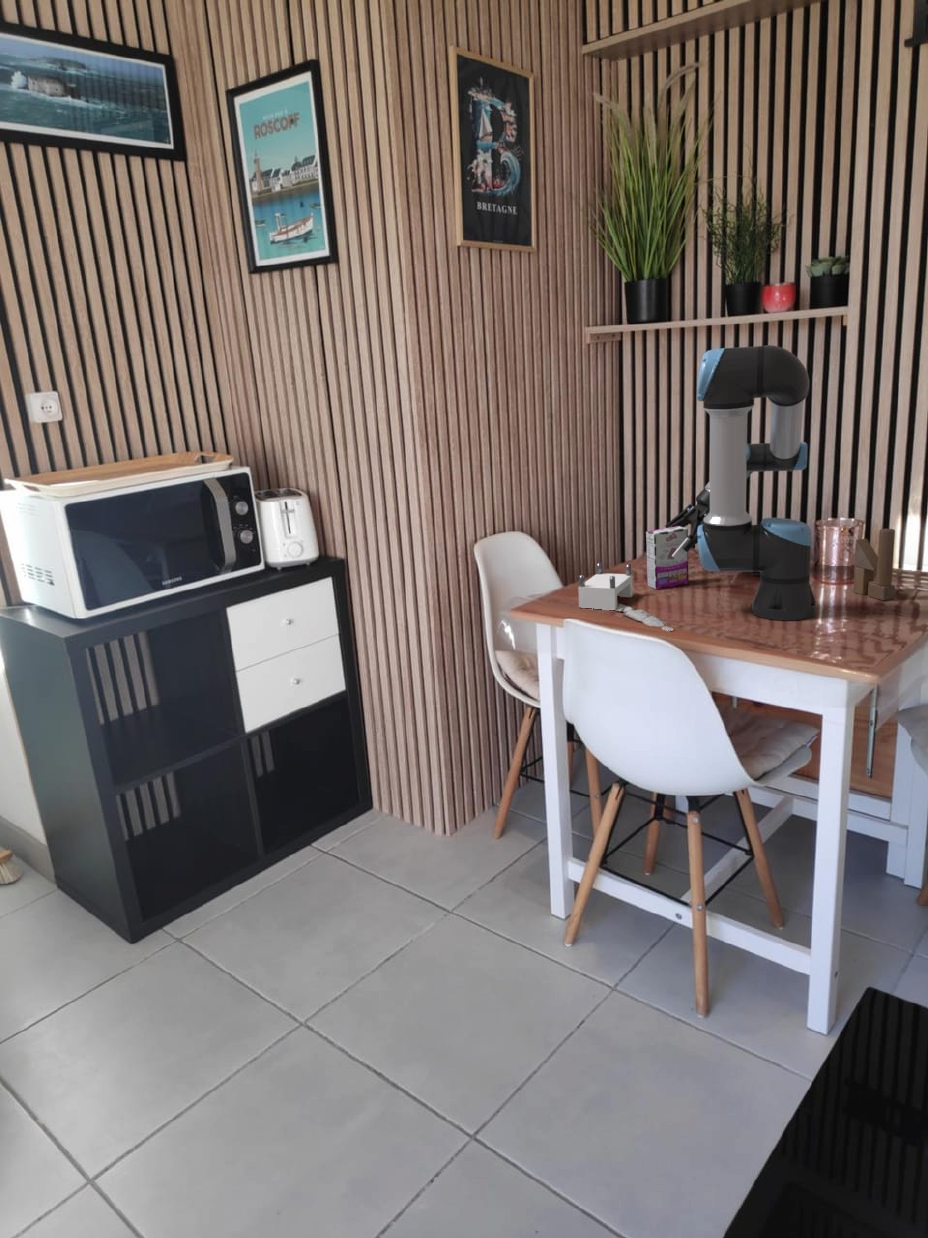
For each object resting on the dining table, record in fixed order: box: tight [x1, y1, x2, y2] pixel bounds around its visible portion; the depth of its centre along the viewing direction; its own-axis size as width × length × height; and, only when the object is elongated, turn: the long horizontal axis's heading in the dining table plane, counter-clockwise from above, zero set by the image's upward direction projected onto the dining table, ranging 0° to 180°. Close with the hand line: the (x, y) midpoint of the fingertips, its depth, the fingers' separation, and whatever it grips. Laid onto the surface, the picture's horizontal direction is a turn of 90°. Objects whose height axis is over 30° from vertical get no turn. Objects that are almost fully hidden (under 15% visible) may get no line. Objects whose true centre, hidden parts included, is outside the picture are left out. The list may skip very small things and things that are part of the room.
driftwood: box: [615, 602, 674, 632], centre depth 234 cm, size 37×5×2 cm, turn 21°
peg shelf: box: [578, 562, 634, 611], centre depth 246 cm, size 10×16×9 cm, turn 153°
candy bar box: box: [645, 526, 690, 590], centre depth 258 cm, size 11×5×16 cm, turn 111°
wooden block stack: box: [852, 528, 896, 601], centre depth 233 cm, size 4×11×18 cm, turn 20°
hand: (665, 554), depth 259 cm, fingers open, 13 cm apart
